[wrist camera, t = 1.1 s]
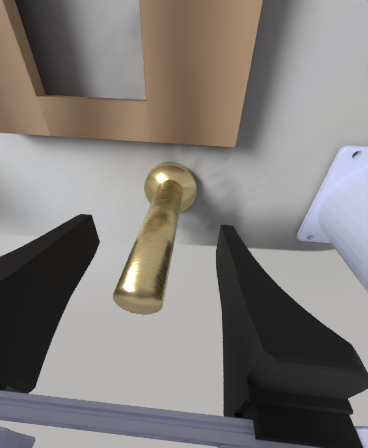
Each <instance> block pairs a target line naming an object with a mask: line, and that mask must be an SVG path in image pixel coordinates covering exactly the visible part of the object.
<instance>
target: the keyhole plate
mask: <svg viewBox="0 0 368 448" xmlns="http://www.w3.org/2000/svg"><path fill="white" fill-rule="evenodd" d="M262 2H263V0H140V15H141V30H142V44H143V59H144V73H145V88H146V100H133V99H114V98H95V97H75V96H56V95H46V94H45V91H44V88H43V85H42V82H41V79H40V76H39V73H38V70H37V67H36V64H35V61H34V58H33V54H32V51H31V48H30V45H29V42H28V39H27V36H26V33H25V30H24V27H23V24H22V21H21V18H20V15H19V12H18V9H17V6H16V3H15V0H0V133H12V134H28V135H45V136H61V137H77V138H93V139H110V140H126V141H142V142H158V143H174V144H191V145H207V146H223V147H235V146H236V141H237V136H238V130H239V125H240V120H241V114H242V109H243V104H244V98H245V93H246V88H247V82H248V77H249V72H250V66H251V61H252V56H253V50H254V45H255V40H256V34H257V29H258V24H259V18H260V13H261V8H262Z"/></svg>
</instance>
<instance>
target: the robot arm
mask: <svg viewBox="0 0 368 448" xmlns="http://www.w3.org/2000/svg"><path fill="white" fill-rule="evenodd" d="M356 151H358V153H357V155H356V156H354V157H352V155H353V154H354V153H355V152H356ZM310 235H311V236H310ZM308 236H309V237H308ZM297 238H298V239H299V240H300V241H309V242H321V243H332V245H333V246H334V247H335V249H336V250H337V251H338V253H339V254H340V255H341V257H342V258H343V260H344V261H345V262H346V264H347V265H348V266H349V268H350V269H351V270H352V272H353V273H354V275H355V276H356V277H357V278H358V280H359V281H360V283H361V284H362V285H363V287H364V288H365V289H366V291H367V292H368V146H359V145H346V146H344V147H342V148H341V149H340V150H339V152H338V153H337V155H336V157H335V159H334V161H333V163H332V165H331V167H330V169H329V171H328V173H327V175H326V177H325V179H324V181H323V183H322V185H321V187H320V189H319V191H318V193H317V195H316V197H315V199H314V201H313V203H312V205H311V207H310V209H309V211H308V213H307V215H306V217H305V219H304V221H303V223H302V225H301V227H300V229H299V231H298V233H297ZM99 242H100V241H99V238H98V235H97V231H96V228H95V225H94V221H93V218H92V215H86V214H80V215H78V216H76V217H74V218H72V219H71V220H69V221H67V222H65V223H64V224H62V225H60V226H58V227H57V228H55V229H53V230H51V231H50V232H48V233H46V234H44V235H43V236H41V237H39V238H37V239H35V240H33V241H31V242H30V243H28V244H26V245H24V246H22V247H20V248H18V249H16V250H14V251H12V252H10V253H7V254H5V255H3V256H1V257H0V420H5V421H12V422H20V423H29V424H37V425H45V426H54V427H62V428H69V429H78V430H86V431H94V432H102V433H110V434H119V435H127V436H135V437H144V438H151V439H159V440H168V441H176V442H184V443H192V444H201V445H209V446H216V447H218V448H368V426H355V427H354V425H353V423H352V420H351V418H350V416H349V415H351V414H353V410H352V407H351V405H350V403H349V401H348V398H350V397H352V396H354V395H356V394H358V393H360V392H362V391H364V390H366V389H367V388H368V373H367V371H366V369H365V367H364V365H363V363H362V361H361V359H360V358H359V356H358V354H357V353H356V351H355V350H354V348H353V346H352V345H351V344H350V343H349V342H347V341H346V340H345V339H343V338H341V337H340V336H339V335H338V334H336V333H335V332H333V331H332V330H331V329H329V328H328V327H326V326H325V325H324V324H322V323H321V322H320V321H319V320H317V319H316V318H315V317H314V316H312V315H311V314H310V313H308V312H307V311H306V310H305V309H304V308H302V307H301V306H300V305H299V304H298V303H297V302H295V301H294V300H293V299H292V298H291V297H290V296H289V295H288V294H287V293H286V292H284V290H282V289H281V288H280V287H279V286H278V285H277V284H276V283H275V281H274V280H272V278H271V277H270V276H269V275H268V274H267V273H266V272H265V271H264V269H263V268H262V267H261V266H260V265H259V263H258V262H257V261H256V260H255V258H254V257H253V256H252V254H251V253H250V251H249V250H248V249H247V247H246V246H245V244H244V243H243V241H242V240H241V238H240V237H239V235H238V233H237V232H236V230H235V228H234V227H233V226H231V225H221V228H220V233H219V239H218V244H217V249H216V269H217V278H218V285H219V292H220V300H221V308H222V328H223V368H224V369H223V371H224V417H222V416H214V415H206V414H197V413H189V412H180V411H172V410H163V409H154V408H145V407H137V406H129V405H120V404H111V403H103V402H93V401H85V400H77V399H68V398H60V397H51V396H43V395H34V394H28V393H29V392H31V391H32V390H33V389H34V388H35V386H36V383H37V380H38V377H39V374H40V371H41V368H42V365H43V362H44V360H45V357H46V354H47V351H48V349H49V346H50V343H51V341H52V338H53V336H54V333H55V331H56V329H57V326H58V323H59V321H60V319H61V317H62V314H63V312H64V310H65V308H66V306H67V303H68V301H69V299H70V297H71V295H72V293H73V292H74V290H75V288H76V287H77V285H78V283H79V282H80V280H81V277H82V276H83V275H84V273H85V271H86V270H87V268H88V266H89V265H90V263H91V261H92V259H93V257H94V255H95V253H96V251H97V248H98V245H99ZM34 442H35V437H32V436H28V435H24V434H21V433H17V432H14V431H11V430H9V429H7V428H3V427H0V448H32V447H33V445H34Z"/></svg>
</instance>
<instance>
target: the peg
mask: <svg viewBox="0 0 368 448" xmlns="http://www.w3.org/2000/svg"><path fill="white" fill-rule="evenodd" d="M144 190H145V194H146V197H147V199H148V201H149V202H150V203H151V205H150V207H149V209H148V212H147V214H146V217H145V219H144V221H143V224H142V226H141V229H140V231H139V234H138V236H137V238H136V241H135V243H134V246H133V248H132V251H131V253H130V255H129V258H128V260H127V262H126V265H125V267H124V270H123V272H122V275H121V277H120V279H119V282H118V284H117V287H116V289H115V291H114V294H113V299H114V301H115V303H116V304H117V305H118V306H120V307H121V308H122V309H124V310H126V311H129V312H132V313H136V314H153V313H155V312H158V311H159V310H161V308H162V306H163V301H164V295H165V290H166V285H167V279H168V274H169V268H170V262H171V257H172V252H173V246H174V241H175V235H176V230H177V225H178V219H179V214H180V212H182V211H185V210H186V209H188V208H189V207H190V206H191V205H192V204H193V202H194V200H195V198H196V191H197V184H196V180H195V177H194V176H193V174H192V173H191V171H190V170H188V169H187V168H186V167H185V166H183V165H181V164H178V163H173V162H167V163H162V164H159V165H157V166H156V167H155V168H153V169H152V170H151V172H150V173H149V175H148V177H147V179H146V181H145V186H144Z"/></svg>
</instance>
